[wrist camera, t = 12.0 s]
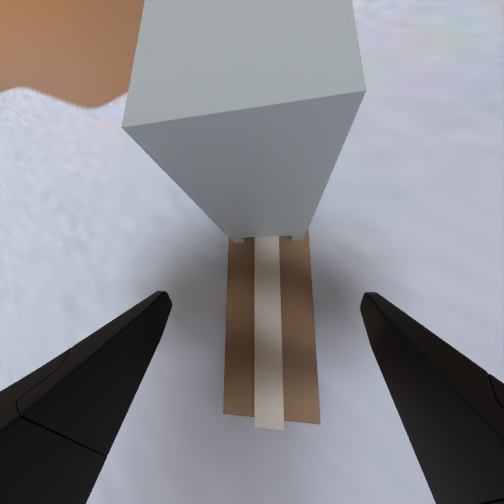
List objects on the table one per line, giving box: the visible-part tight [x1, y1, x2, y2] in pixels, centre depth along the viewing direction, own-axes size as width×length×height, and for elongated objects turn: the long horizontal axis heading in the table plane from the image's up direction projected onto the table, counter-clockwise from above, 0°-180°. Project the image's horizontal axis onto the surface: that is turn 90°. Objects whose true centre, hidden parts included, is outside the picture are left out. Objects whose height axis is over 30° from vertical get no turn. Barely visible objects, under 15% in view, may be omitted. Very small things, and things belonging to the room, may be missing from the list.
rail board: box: [223, 229, 320, 431], centre depth 14 cm, size 20×7×5 cm, turn 0°
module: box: [122, 0, 366, 243], centre depth 11 cm, size 5×6×12 cm
